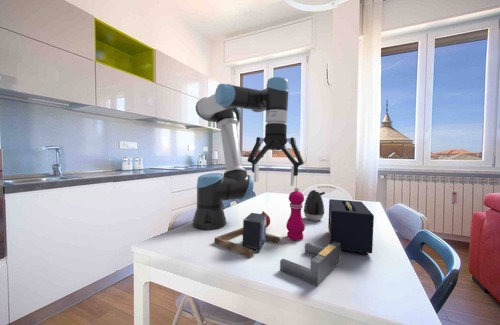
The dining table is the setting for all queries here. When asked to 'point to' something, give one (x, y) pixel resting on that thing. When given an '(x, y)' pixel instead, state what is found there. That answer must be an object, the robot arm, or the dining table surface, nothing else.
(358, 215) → the black toaster
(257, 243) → the small box
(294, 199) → the pepper mill
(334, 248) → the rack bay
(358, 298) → the dining table surface
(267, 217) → the onion
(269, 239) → the holder
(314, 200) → the pump dispenser
